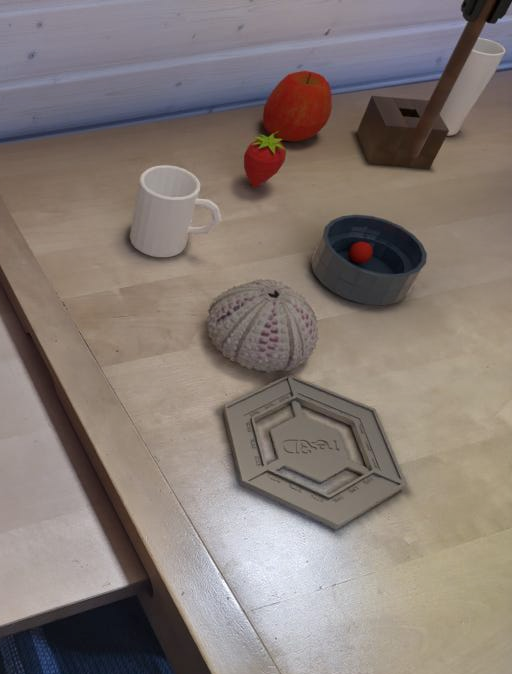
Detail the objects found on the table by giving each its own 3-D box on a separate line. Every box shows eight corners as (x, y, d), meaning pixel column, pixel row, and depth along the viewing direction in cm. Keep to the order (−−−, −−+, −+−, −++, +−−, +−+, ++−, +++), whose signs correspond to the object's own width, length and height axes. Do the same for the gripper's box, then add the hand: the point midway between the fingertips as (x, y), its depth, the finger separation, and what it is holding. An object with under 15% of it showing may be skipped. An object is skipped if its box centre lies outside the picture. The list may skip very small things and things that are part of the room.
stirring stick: (416, 150, 93) (507, -31, 77) (419, 158, 92) (513, -25, 76) (402, 149, 93) (490, -32, 77) (405, 156, 92) (496, -27, 76)
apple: (310, 156, 119) (332, 96, 112) (249, 136, 123) (266, 77, 115) (328, 129, 126) (350, 70, 118) (269, 111, 129) (287, 53, 122)
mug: (198, 275, 97) (215, 216, 90) (120, 244, 101) (130, 185, 94) (220, 245, 102) (237, 186, 95) (144, 216, 106) (155, 158, 99)
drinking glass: (414, 127, 128) (454, 43, 117) (432, 116, 131) (473, 33, 120) (450, 143, 124) (495, 58, 113) (468, 131, 127) (513, 47, 116)
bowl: (395, 250, 103) (411, 219, 99) (420, 313, 94) (439, 281, 90) (303, 242, 103) (315, 210, 99) (319, 303, 94) (333, 271, 90)
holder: (413, 138, 125) (431, 100, 120) (429, 169, 118) (449, 130, 113) (356, 133, 125) (371, 95, 120) (368, 163, 119) (385, 125, 113)
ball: (365, 255, 101) (373, 238, 99) (369, 268, 99) (378, 251, 97) (343, 253, 101) (351, 236, 99) (348, 266, 99) (356, 249, 97)
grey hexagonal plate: (358, 381, 85) (361, 376, 84) (421, 531, 71) (424, 526, 71) (214, 377, 84) (216, 372, 84) (250, 527, 71) (252, 523, 70)
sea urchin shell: (289, 398, 83) (312, 351, 77) (183, 350, 87) (197, 302, 82) (324, 332, 91) (347, 285, 85) (225, 291, 95) (240, 243, 89)
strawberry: (281, 182, 114) (301, 125, 106) (263, 204, 109) (282, 146, 102) (247, 170, 116) (264, 112, 108) (228, 190, 111) (244, 132, 104)
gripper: (512, -166, 65) (425, 27, 78) (665, -152, 65) (553, 40, 78) (486, -183, 71) (408, 1, 83) (627, -170, 70) (528, 13, 83)
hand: (478, 19), depth 80 cm, fingers closed on stirring stick, 2 cm apart
